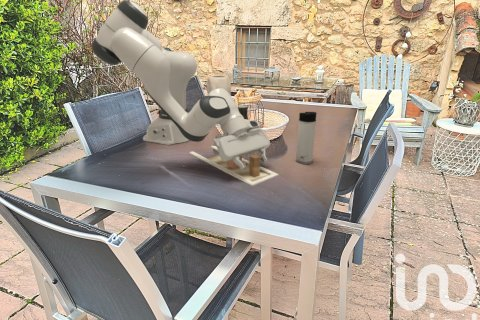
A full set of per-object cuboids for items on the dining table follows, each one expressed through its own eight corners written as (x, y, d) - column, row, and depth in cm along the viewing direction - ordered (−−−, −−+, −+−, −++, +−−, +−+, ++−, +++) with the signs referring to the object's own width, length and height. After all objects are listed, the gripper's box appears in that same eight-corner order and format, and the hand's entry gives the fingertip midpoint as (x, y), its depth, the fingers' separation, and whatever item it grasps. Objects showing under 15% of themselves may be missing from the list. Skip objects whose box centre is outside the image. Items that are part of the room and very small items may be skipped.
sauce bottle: (253, 151, 136) (254, 105, 129) (248, 156, 131) (249, 108, 123) (238, 149, 138) (238, 103, 131) (233, 155, 133) (233, 107, 125)
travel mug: (303, 166, 122) (307, 114, 115) (292, 160, 128) (296, 110, 120) (316, 163, 125) (321, 112, 117) (305, 157, 130) (309, 108, 123)
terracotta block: (226, 165, 119) (226, 155, 118) (234, 162, 122) (234, 152, 120) (233, 168, 117) (233, 158, 115) (241, 165, 119) (241, 155, 118)
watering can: (198, 108, 207) (196, 78, 200) (217, 100, 230) (216, 72, 223) (219, 110, 202) (218, 79, 194) (237, 102, 224) (237, 74, 217)
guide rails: (189, 156, 131) (189, 152, 130) (214, 149, 138) (213, 145, 137) (252, 190, 105) (252, 184, 104) (278, 179, 112) (278, 174, 111)
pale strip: (206, 161, 126) (205, 141, 123) (223, 156, 131) (222, 137, 127) (251, 184, 107) (251, 162, 104) (268, 177, 112) (269, 156, 109)
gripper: (215, 131, 104) (235, 169, 101) (261, 120, 116) (280, 153, 113) (208, 141, 109) (226, 177, 106) (253, 129, 121) (270, 161, 118)
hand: (254, 165), depth 109 cm, fingers open, 8 cm apart
